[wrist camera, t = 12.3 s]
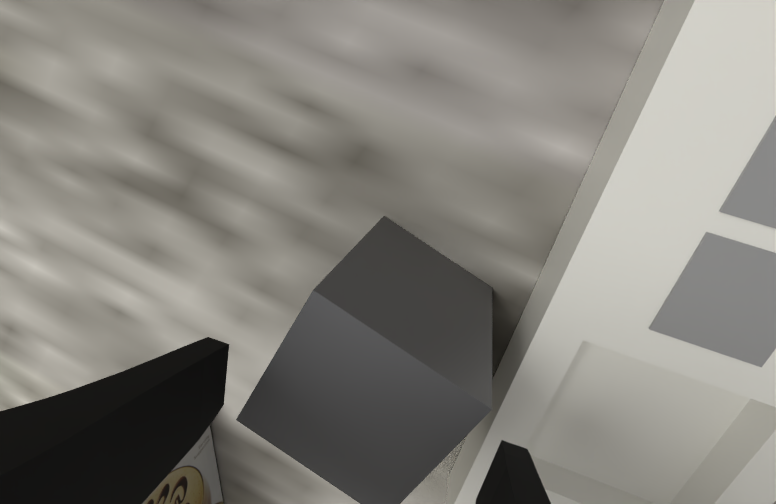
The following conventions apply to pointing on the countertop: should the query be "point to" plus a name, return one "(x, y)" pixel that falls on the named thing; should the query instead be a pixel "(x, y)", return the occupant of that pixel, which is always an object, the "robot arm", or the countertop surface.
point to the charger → (380, 368)
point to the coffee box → (192, 478)
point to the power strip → (658, 288)
